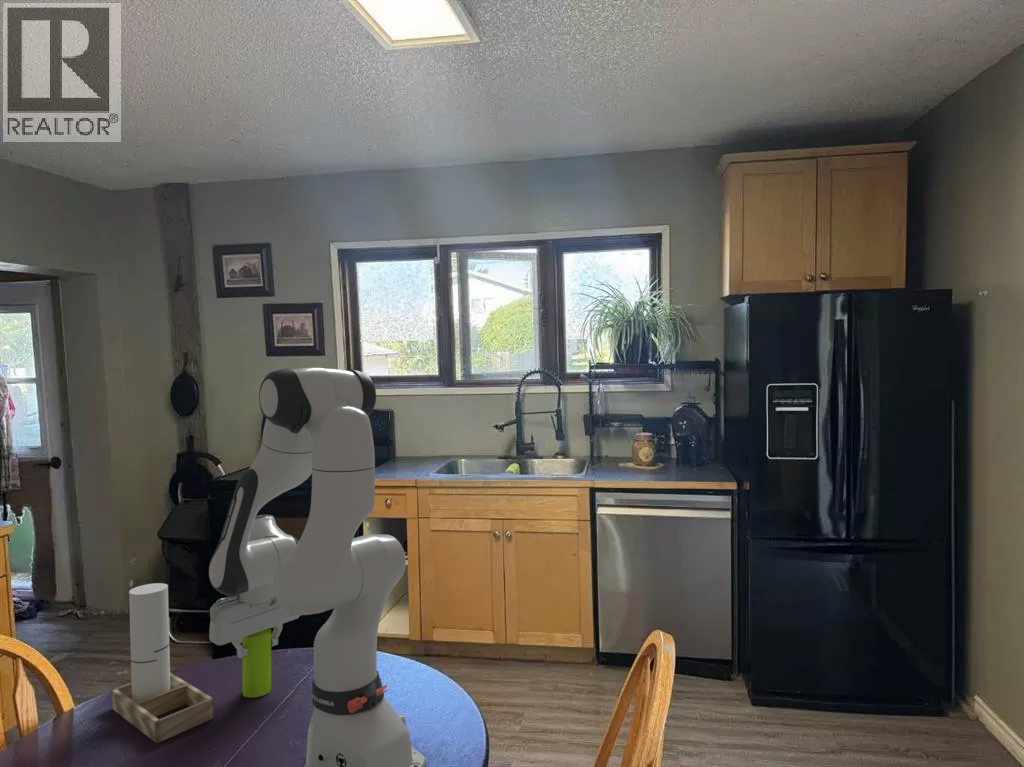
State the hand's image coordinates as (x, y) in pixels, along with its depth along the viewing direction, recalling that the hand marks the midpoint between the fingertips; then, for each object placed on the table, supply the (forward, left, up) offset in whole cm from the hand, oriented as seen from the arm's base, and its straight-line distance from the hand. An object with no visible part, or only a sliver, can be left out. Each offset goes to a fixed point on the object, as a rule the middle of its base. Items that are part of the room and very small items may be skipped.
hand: (258, 650), depth 141 cm
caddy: (+8, +17, -9) cm, 21 cm away
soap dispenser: (0, 0, -9) cm, 9 cm away
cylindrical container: (+13, +17, -9) cm, 23 cm away
